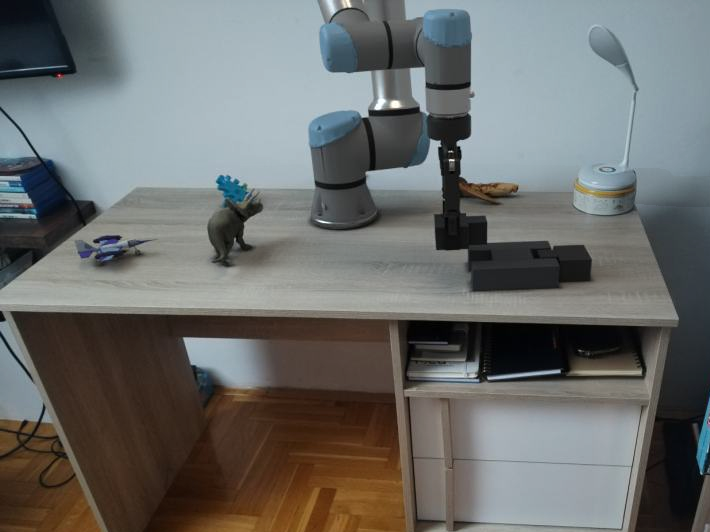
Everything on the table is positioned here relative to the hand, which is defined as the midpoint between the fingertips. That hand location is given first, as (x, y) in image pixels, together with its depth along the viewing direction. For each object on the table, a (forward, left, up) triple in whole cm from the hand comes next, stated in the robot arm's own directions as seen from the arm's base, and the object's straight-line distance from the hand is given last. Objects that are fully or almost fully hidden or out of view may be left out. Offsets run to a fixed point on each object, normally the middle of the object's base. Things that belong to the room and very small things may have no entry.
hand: (451, 241), depth 121 cm
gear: (-45, -51, -8) cm, 68 cm away
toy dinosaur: (-14, -46, -8) cm, 48 cm away
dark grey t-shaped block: (0, +2, 0) cm, 2 cm away
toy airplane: (-15, -69, -8) cm, 71 cm away
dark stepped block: (0, +21, -8) cm, 23 cm away
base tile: (0, +11, -8) cm, 14 cm away
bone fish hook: (-45, +10, -8) cm, 47 cm away
